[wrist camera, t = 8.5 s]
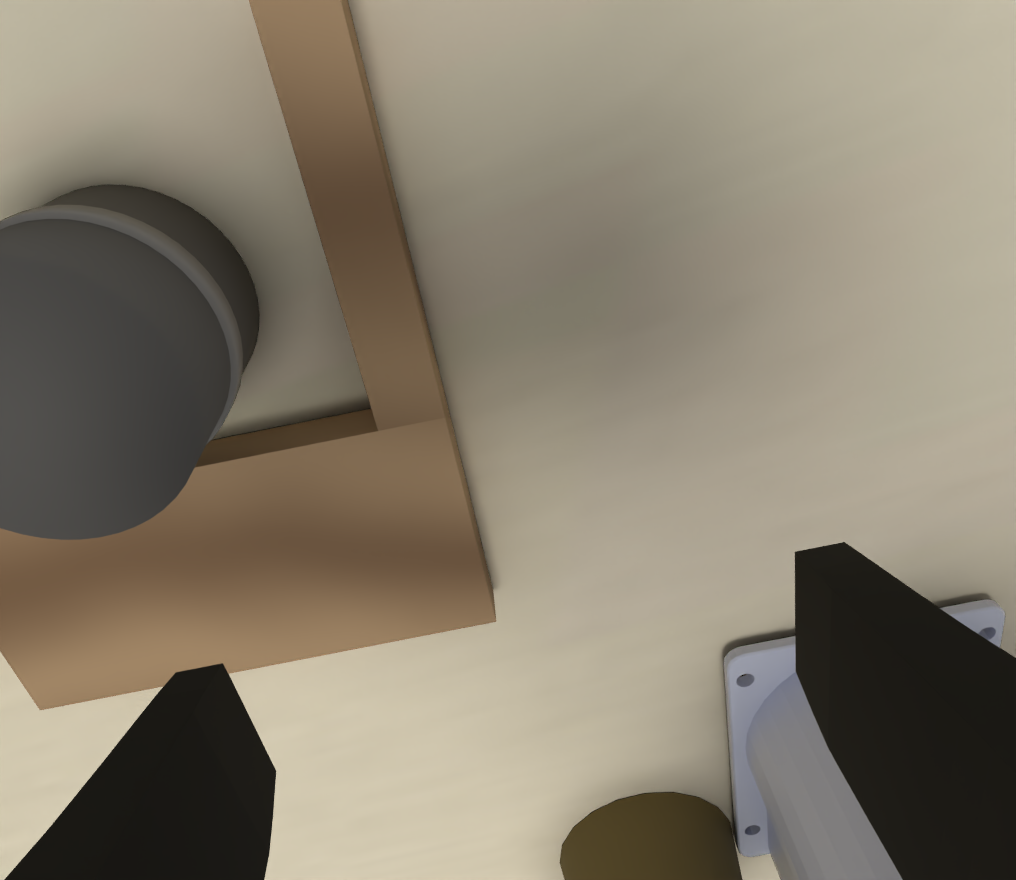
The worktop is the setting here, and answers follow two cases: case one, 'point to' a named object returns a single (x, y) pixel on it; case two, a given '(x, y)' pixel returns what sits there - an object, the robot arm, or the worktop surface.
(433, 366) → the brown wooden u-shaped bracket
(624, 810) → the olive pawn
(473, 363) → the worktop surface
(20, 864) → the robot arm
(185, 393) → the grey flanged cylinder
